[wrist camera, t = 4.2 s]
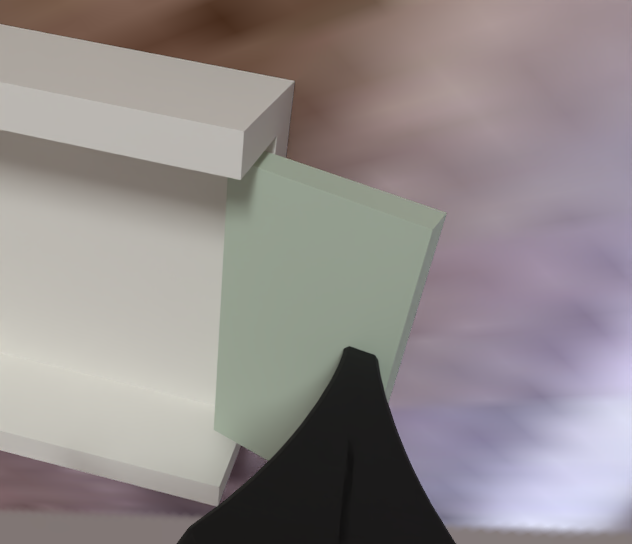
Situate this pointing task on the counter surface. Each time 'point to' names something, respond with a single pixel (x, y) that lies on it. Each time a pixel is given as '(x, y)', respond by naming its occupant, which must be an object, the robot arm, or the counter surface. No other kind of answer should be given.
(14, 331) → the white open tray
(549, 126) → the counter surface
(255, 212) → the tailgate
